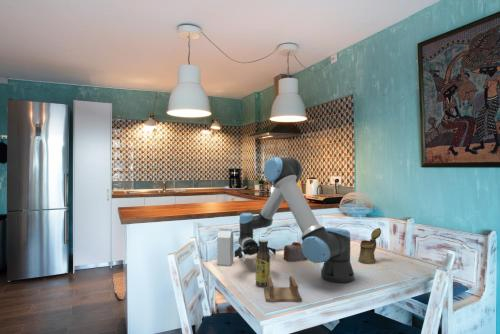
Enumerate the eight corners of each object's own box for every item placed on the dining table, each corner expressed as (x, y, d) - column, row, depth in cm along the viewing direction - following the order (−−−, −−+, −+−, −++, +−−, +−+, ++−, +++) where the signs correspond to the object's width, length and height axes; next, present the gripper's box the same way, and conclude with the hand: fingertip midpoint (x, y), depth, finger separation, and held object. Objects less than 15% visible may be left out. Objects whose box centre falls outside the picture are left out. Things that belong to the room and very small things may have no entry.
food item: (302, 256, 188) (302, 239, 188) (310, 259, 181) (310, 242, 181) (282, 259, 182) (282, 241, 182) (289, 263, 175) (289, 245, 175)
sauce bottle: (252, 285, 142) (252, 240, 142) (261, 281, 147) (261, 237, 147) (263, 288, 138) (263, 242, 138) (272, 284, 143) (272, 240, 143)
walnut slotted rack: (296, 289, 137) (296, 275, 137) (301, 301, 125) (301, 285, 125) (263, 290, 137) (263, 275, 137) (266, 301, 125) (266, 286, 125)
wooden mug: (385, 262, 176) (385, 229, 176) (365, 264, 171) (365, 231, 171) (374, 257, 184) (374, 226, 184) (354, 260, 179) (354, 228, 179)
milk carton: (230, 266, 170) (230, 230, 170) (217, 265, 171) (217, 229, 171) (233, 262, 177) (233, 227, 177) (221, 261, 178) (221, 227, 178)
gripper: (272, 251, 171) (285, 263, 150) (226, 254, 166) (232, 267, 145) (272, 237, 171) (284, 247, 150) (226, 240, 166) (232, 250, 145)
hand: (259, 257), depth 147 cm, fingers open, 13 cm apart
